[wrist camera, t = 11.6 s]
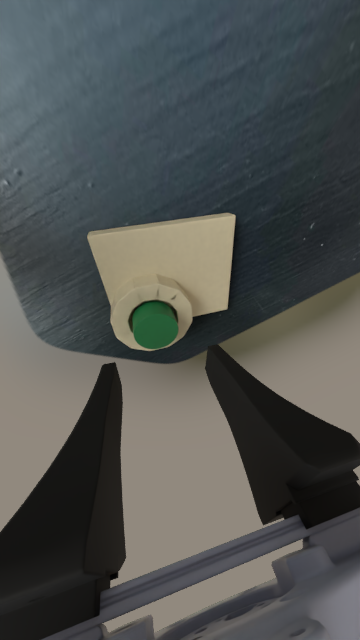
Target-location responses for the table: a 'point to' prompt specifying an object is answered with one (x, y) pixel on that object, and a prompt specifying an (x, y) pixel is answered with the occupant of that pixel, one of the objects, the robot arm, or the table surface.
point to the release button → (154, 325)
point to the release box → (165, 269)
